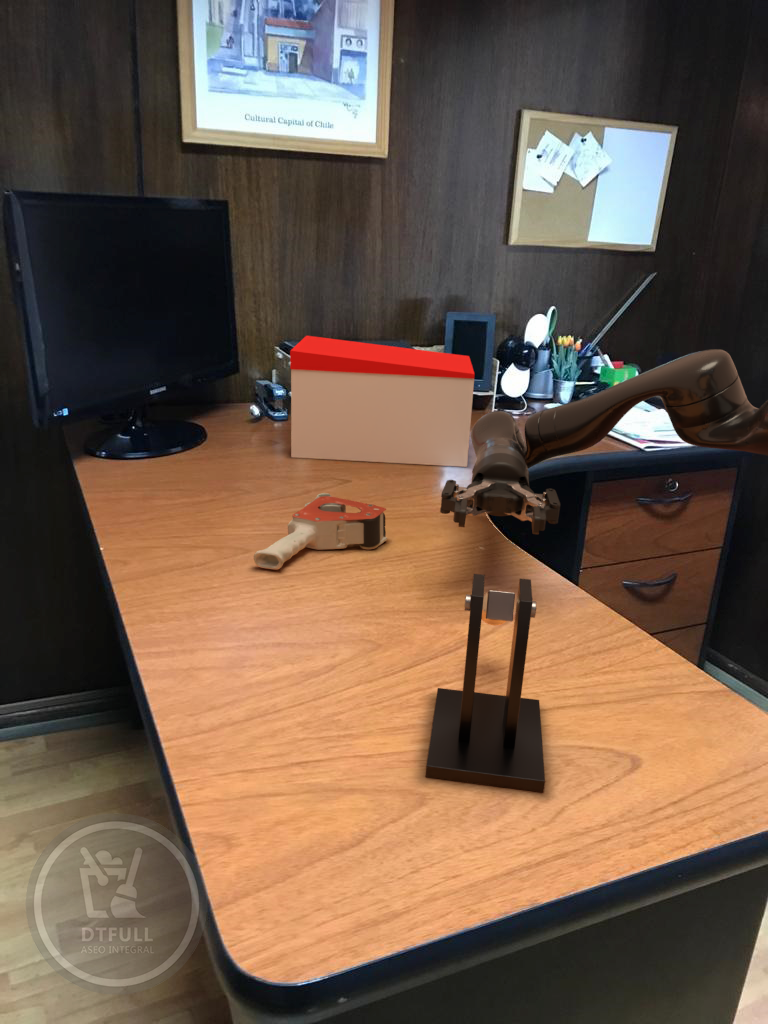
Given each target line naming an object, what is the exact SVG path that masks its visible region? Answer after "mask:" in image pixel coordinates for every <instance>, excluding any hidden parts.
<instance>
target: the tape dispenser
mask: <svg viewBox="0 0 768 1024" xmlns="http://www.w3.org/2000/svg"><path fill="white" fill-rule="evenodd" d="M347 506H349V507H352V508H357V509H358V510H359V511H360V512H347ZM385 511H387V508H385V507H382V506H379V505H376V504H373V503H364V502H362V501H357V500H351V499H345V498H340V497H337V496H332V495H331V494H330V493H329V492H328V493H327V492H322V493H318V494H317V495H316V497H315V498H314V499H313V500H311V501H309V502H306V503H305V504H304V507H303V508H301V509H300V510H299V511H296V512H294V513H293V514H292V519H291V520H290V521H289V522H288V524H287V525H286V526H287V535H285V536H284V537H281V538H280V539H278V540H276V541H275V542H273V543H272V544H271V545H269V546H268V547H266V548H264V549H259V550H257V551H255V553H254V555H253V561H254V563H255V565H256V566H257V567H259V568H261V569H267V570H280V569H282V568H283V565H284V563H285V562H287V561H289V560H291V559H292V557H293V556H295V555H297V554H298V553H299V552H300V551H301V550H303V549H305V548H308V549H312V550H319V551H320V550H322V551H323V550H340V549H346V548H348V546H349V545H359V548H360V549H363V550H368V551H369V550H374V549H377V548H378V547H379V546H381V545H382V544H384V542H386V541H387V540H388V537H387V533H386V514H385Z"/></svg>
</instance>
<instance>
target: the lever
mask: <svg viewBox="0 0 768 1024" xmlns="http://www.w3.org/2000/svg"><path fill="white" fill-rule="evenodd" d="M515 593H516V592H510V591H500V590H491V589H490V590H488V591H486V592H484V599H483V609H482V619H481V621H482V622H483V623H485V624H487V625H489V626H493V627H494V626H501V625H503V624H505V623H507V622H514V613H515V612H514V610H515V600H516V599H515V597H516V594H515Z"/></svg>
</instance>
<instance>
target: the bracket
mask: <svg viewBox="0 0 768 1024" xmlns="http://www.w3.org/2000/svg"><path fill="white" fill-rule="evenodd" d="M485 581H486V575H485V574H480V573H473V575H472V584H471V585H472V586H471V594H465V598H464V608H463V609H464V611H466V612H469V619H468V630H467V643H466V653H465V661H464V662H465V663H464V674H463V685H462V690H461V689H460V690H459V689H450V688H442V687H437V689H436V690H437V691H436V696H435V704H434V710H433V717H432V725H431V731H430V738H429V739H430V740H429V745H428V751H427V758H426V765H425V778H431V779H439V780H445V781H453V782H461V783H467V784H475V785H483V786H489V787H491V786H493V787H498V788H505V789H512V790H513V789H514V790H521V791H528V792H534V793H535V792H537V793H544V792H545V786H546V777H545V776H546V775H545V762H544V746H543V733H542V721H541V719H542V718H541V705H540V700H539V699H534V698H528V697H527V698H525V697H522V691H523V683H524V675H525V666H526V660H527V650H528V643H529V642H528V641H529V635H530V627H531V619H535V618H536V614H537V601H535V600H533V590H532V589H533V588H532V579H531V578H530V579H529V578H519V579H518V587H517V595H516V605H515V612H514V615H515V616H514V620H513V629H512V630H513V631H512V639H511V649H510V657H509V666H508V675H507V682H506V683H507V684H506V690H505V691H506V692H505V695H501V694H493V693H484V692H475V689H476V680H477V669H478V660H479V659H478V658H479V649H480V638H481V628H482V609H483V599H484V594H485V583H486V582H485Z"/></svg>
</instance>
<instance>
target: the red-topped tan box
mask: <svg viewBox="0 0 768 1024" xmlns="http://www.w3.org/2000/svg"><path fill="white" fill-rule="evenodd" d="M289 361H290V362H289V363H290V364H289V368H290V380H291V381H290V402H291V403H290V415H291V416H290V424H291V425H290V432H291V433H290V434H291V435H290V437H291V438H290V439H291V440H290V443H291V445H290V449H291V450H290V455H291V456H290V457H291V458H296V459H297V458H298V459H299V458H300V459H314V460H315V459H317V460H337V461H351V462H353V461H355V462H371V463H372V462H373V463H388V464H389V463H390V464H408V465H425V466H426V465H428V466H444V467H445V466H446V467H462V468H468V460H469V446H470V437H471V424H472V411H473V399H474V388H475V387H474V386H475V385H474V384H475V371H474V367H473V364H472V361H471V358H470V355H464V354H455V353H447V352H439V351H433V350H425V349H424V350H423V349H415V348H407V347H400V346H392V345H385V344H375V343H367V342H360V341H352V340H344V339H335V338H329V337H320V336H314V335H313V336H312V335H305V336H304V337H303V338H302V339H301V340H300V341H299V342H298V343H296V345H294V347H292V348H291V349H290V351H289Z"/></svg>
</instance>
